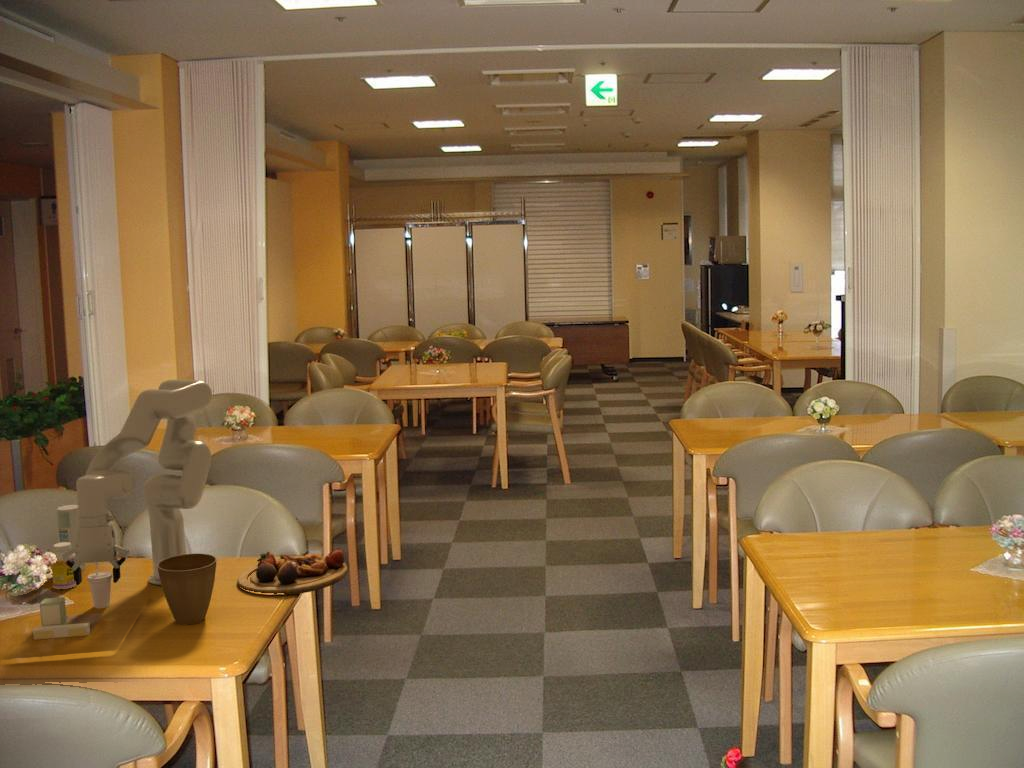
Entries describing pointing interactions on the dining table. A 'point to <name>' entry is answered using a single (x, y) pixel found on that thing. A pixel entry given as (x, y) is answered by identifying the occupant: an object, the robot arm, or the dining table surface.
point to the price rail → (61, 631)
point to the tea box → (53, 611)
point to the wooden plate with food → (294, 573)
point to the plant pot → (188, 585)
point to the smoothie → (100, 588)
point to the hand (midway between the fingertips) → (97, 582)
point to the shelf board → (84, 619)
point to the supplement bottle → (63, 568)
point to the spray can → (68, 525)
